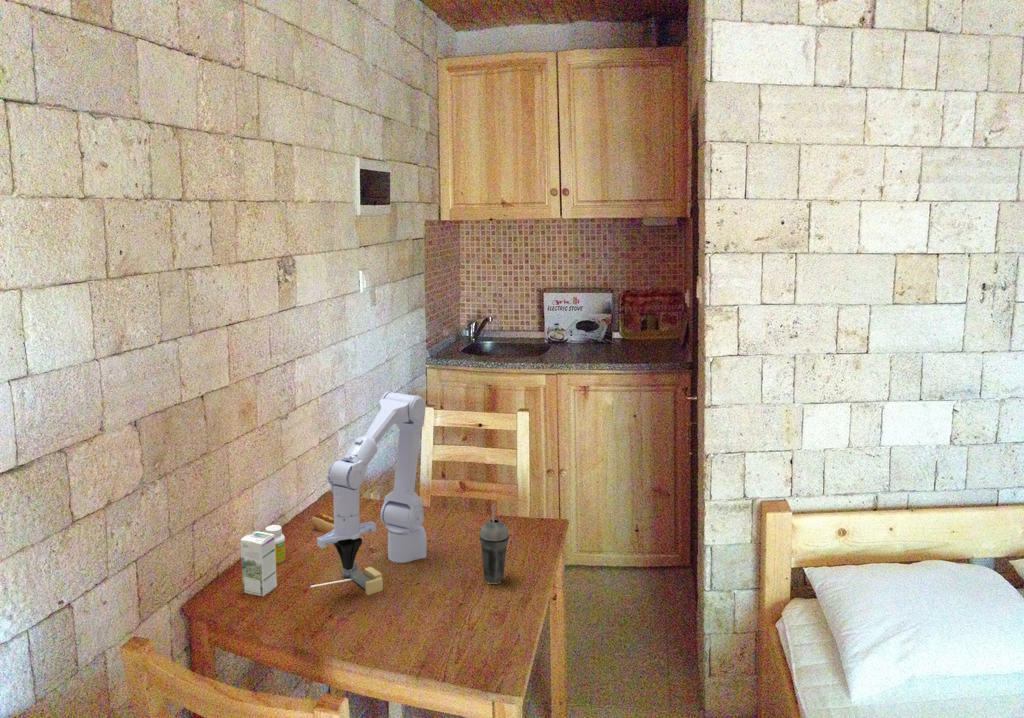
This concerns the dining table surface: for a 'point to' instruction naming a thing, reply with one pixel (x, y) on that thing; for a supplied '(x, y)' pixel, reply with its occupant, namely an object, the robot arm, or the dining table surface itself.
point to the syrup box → (258, 563)
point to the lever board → (372, 585)
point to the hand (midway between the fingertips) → (347, 568)
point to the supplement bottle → (278, 542)
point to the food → (323, 523)
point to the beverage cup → (493, 549)
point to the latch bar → (355, 575)
